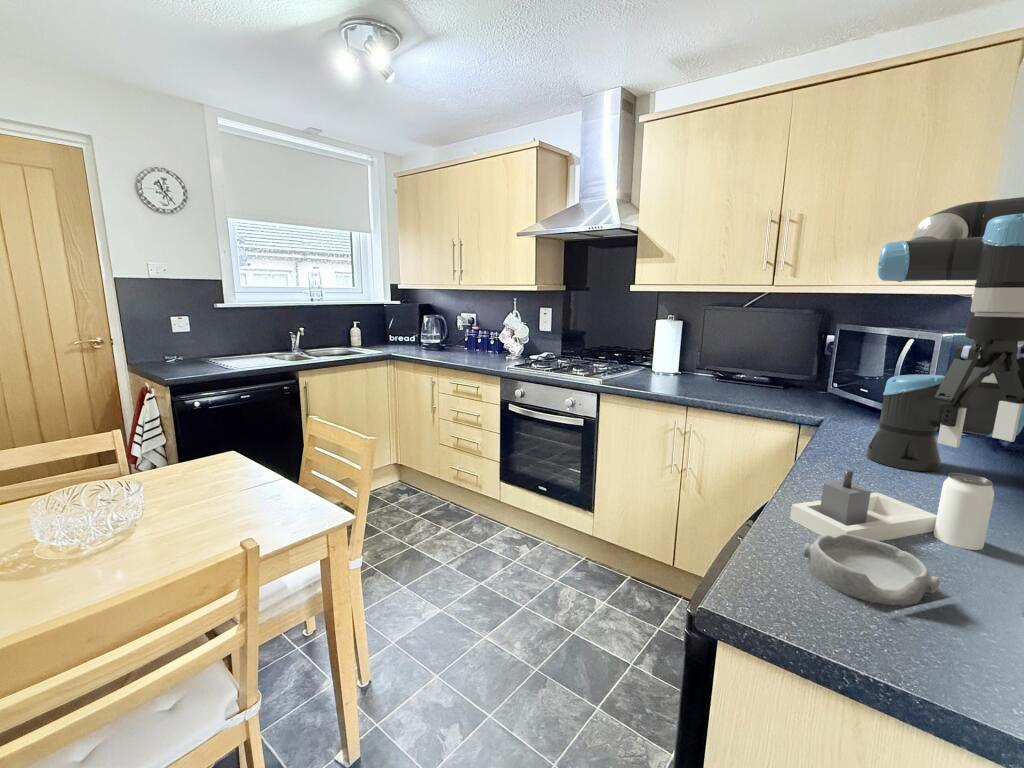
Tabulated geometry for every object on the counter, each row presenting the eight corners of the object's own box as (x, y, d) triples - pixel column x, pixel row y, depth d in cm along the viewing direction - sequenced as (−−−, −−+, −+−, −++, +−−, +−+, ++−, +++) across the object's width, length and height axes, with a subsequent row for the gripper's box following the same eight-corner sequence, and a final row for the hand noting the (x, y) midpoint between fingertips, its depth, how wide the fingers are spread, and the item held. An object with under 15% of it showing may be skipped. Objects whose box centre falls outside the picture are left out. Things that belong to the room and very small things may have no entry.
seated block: (838, 520, 91) (846, 465, 89) (864, 532, 86) (873, 474, 84) (818, 523, 89) (825, 467, 87) (843, 536, 84) (852, 477, 82)
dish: (948, 607, 67) (954, 574, 66) (866, 619, 64) (872, 586, 63) (854, 553, 80) (859, 525, 80) (784, 561, 78) (788, 533, 77)
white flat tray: (874, 508, 97) (877, 492, 97) (935, 533, 87) (938, 515, 86) (789, 521, 91) (791, 504, 91) (843, 550, 81) (846, 531, 80)
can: (993, 555, 80) (1007, 487, 78) (948, 550, 81) (961, 484, 79) (965, 536, 86) (978, 473, 84) (924, 532, 87) (935, 470, 85)
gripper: (1021, 314, 84) (997, 431, 87) (920, 314, 77) (899, 440, 80) (1082, 316, 77) (1053, 443, 80) (976, 316, 70) (950, 454, 73)
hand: (976, 442), depth 80 cm, fingers open, 13 cm apart
